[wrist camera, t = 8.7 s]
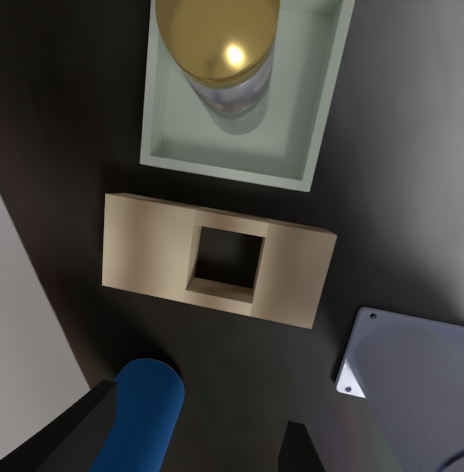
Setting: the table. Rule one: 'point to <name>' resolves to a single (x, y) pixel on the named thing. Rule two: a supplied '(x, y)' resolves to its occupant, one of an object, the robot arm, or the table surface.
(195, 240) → the wooden block with hole
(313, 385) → the table surface
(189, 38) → the white and gold cylinder
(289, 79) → the tray
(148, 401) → the beverage can
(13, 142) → the table surface
